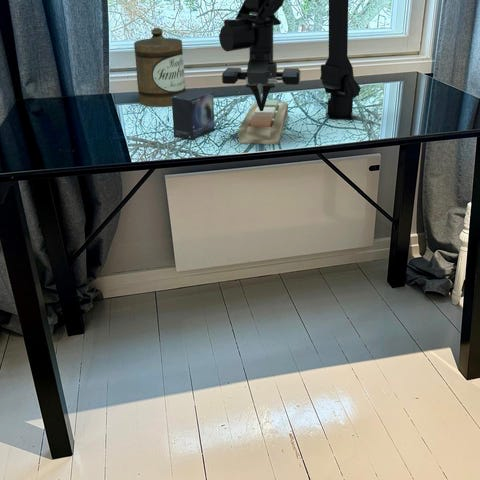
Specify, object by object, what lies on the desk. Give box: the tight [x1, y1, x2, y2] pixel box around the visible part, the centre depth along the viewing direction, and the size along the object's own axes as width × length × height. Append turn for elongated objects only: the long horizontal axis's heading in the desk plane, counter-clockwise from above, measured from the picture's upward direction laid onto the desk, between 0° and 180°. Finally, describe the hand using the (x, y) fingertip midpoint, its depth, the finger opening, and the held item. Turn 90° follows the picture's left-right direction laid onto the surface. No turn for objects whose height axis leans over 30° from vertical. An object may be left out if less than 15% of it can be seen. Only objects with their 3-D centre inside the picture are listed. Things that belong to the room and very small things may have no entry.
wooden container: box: [133, 27, 187, 108], centre depth 174 cm, size 15×15×22 cm
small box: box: [171, 88, 215, 140], centre depth 146 cm, size 11×6×10 cm, turn 148°
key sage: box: [265, 99, 279, 111], centre depth 156 cm, size 5×5×2 cm
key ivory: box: [254, 107, 275, 119], centre depth 149 cm, size 5×5×2 cm
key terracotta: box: [250, 115, 272, 127], centre depth 143 cm, size 5×5×2 cm
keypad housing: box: [238, 101, 289, 145], centre depth 150 cm, size 10×26×4 cm, turn 171°
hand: (261, 110), depth 141 cm, fingers closed
